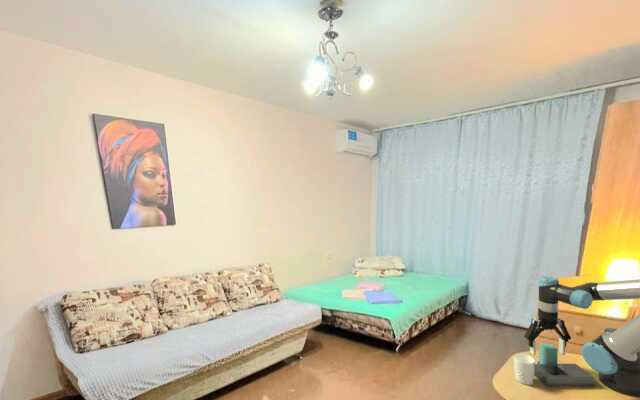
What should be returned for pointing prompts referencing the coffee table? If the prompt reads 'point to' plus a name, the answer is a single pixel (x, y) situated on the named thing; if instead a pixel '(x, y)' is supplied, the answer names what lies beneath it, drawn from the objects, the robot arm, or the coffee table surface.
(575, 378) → the grey slotted board
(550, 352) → the teal block
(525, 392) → the coffee table surface
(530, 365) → the white cup
